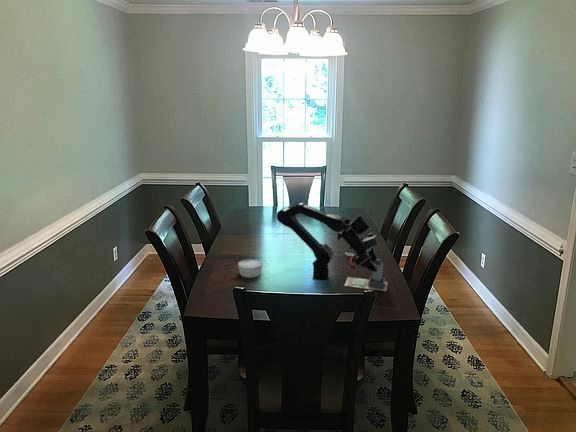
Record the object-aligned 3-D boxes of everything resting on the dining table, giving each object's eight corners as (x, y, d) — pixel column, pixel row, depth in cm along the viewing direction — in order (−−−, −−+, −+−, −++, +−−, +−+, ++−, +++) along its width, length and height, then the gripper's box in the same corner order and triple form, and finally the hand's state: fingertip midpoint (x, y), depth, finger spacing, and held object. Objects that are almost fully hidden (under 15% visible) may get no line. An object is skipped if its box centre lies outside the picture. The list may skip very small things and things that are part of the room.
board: (344, 286, 201) (344, 285, 201) (347, 277, 210) (348, 276, 210) (386, 291, 196) (386, 291, 196) (387, 282, 205) (387, 282, 205)
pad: (351, 284, 202) (351, 283, 202) (353, 279, 207) (353, 278, 207) (364, 286, 201) (364, 285, 201) (365, 281, 206) (365, 280, 206)
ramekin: (252, 267, 220) (252, 257, 219) (267, 274, 212) (267, 264, 211) (233, 273, 213) (233, 262, 212) (247, 281, 205) (247, 270, 204)
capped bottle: (371, 286, 200) (373, 260, 197) (372, 282, 204) (374, 257, 201) (380, 287, 199) (382, 261, 196) (381, 283, 203) (383, 258, 200)
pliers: (356, 253, 242) (357, 249, 241) (373, 267, 224) (374, 262, 223) (336, 255, 239) (336, 250, 238) (352, 270, 221) (352, 265, 220)
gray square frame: (368, 287, 200) (368, 281, 199) (369, 281, 206) (370, 276, 205) (383, 289, 198) (384, 283, 197) (384, 283, 204) (385, 277, 203)
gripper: (364, 235, 188) (389, 264, 188) (370, 223, 205) (394, 249, 205) (344, 251, 193) (369, 279, 192) (352, 238, 210) (375, 263, 209)
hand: (377, 267), depth 200 cm, fingers open, 9 cm apart
